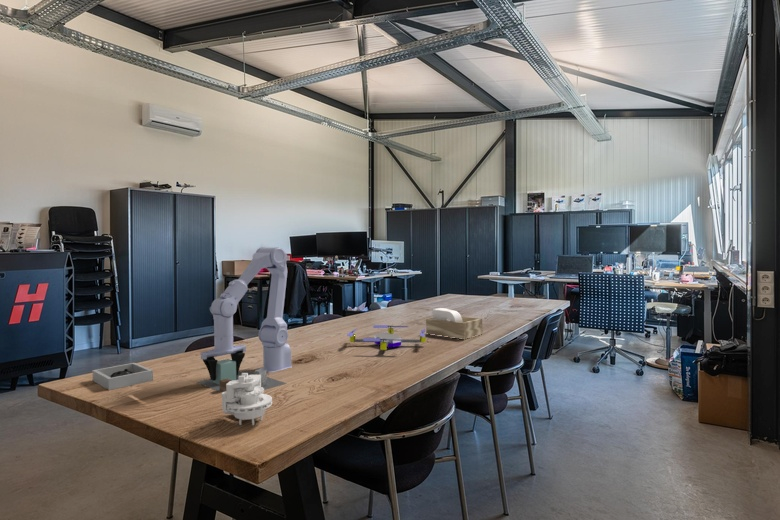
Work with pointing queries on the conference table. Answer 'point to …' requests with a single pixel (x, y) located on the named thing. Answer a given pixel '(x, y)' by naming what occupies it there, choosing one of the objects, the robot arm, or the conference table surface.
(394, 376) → the conference table surface
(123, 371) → the game controller
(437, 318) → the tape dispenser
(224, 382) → the brown cube
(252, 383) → the mechanical part
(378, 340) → the quadcopter drone
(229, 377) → the pale aqua cube
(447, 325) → the plywood crate
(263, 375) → the metal post
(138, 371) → the gray hollow frame
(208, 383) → the mat
